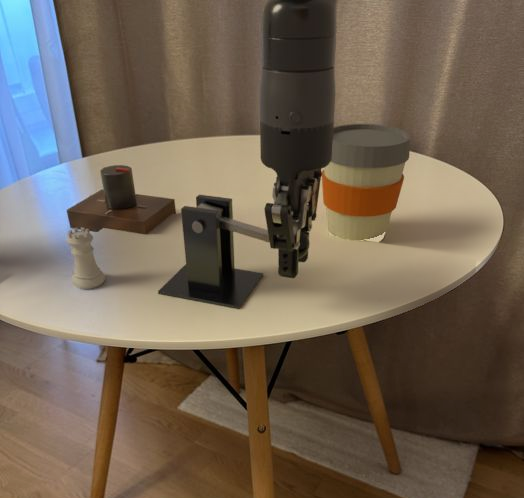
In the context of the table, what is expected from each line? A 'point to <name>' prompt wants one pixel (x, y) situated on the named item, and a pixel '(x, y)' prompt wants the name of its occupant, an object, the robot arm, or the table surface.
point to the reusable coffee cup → (364, 179)
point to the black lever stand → (210, 259)
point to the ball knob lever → (253, 229)
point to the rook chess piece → (84, 260)
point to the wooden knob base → (120, 214)
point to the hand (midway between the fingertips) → (293, 267)
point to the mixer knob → (118, 187)
